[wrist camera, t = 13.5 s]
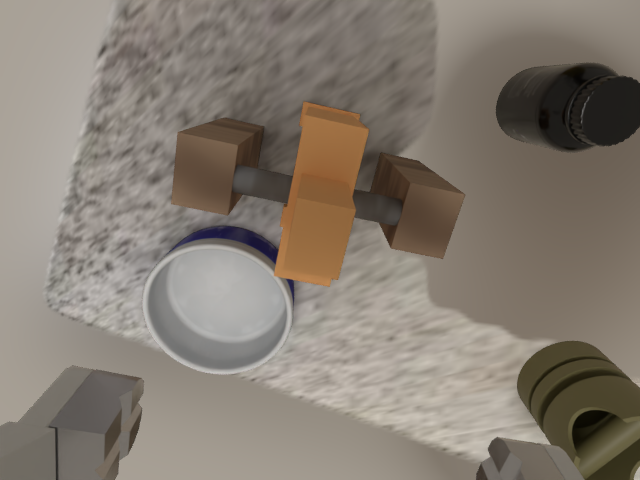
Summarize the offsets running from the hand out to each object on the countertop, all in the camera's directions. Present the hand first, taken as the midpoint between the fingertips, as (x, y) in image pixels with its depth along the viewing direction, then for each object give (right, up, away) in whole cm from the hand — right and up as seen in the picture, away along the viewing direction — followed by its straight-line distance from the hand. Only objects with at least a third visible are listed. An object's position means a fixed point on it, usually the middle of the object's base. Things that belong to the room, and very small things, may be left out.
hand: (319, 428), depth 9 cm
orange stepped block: (0, +11, +28) cm, 30 cm away
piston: (+31, -13, +42) cm, 54 cm away
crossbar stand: (0, +12, +32) cm, 34 cm away
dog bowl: (-10, -1, +37) cm, 39 cm away
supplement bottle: (+21, +18, +30) cm, 41 cm away
